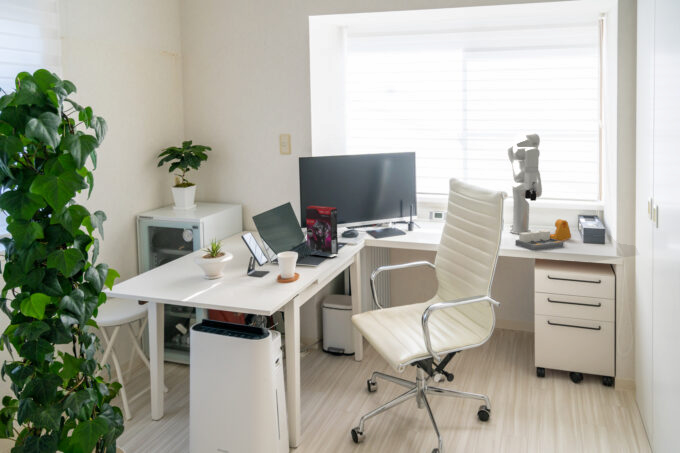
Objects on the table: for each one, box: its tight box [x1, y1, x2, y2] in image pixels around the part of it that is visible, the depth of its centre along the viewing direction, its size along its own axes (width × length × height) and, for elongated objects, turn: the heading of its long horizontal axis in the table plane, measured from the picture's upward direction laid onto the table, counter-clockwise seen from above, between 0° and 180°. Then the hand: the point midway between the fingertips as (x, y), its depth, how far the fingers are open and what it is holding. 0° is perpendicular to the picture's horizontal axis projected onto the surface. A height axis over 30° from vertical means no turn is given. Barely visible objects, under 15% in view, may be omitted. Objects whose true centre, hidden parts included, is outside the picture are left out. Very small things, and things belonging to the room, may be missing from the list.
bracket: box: [550, 218, 572, 242], centre depth 369 cm, size 11×7×12 cm, turn 110°
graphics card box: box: [305, 205, 339, 255], centre depth 340 cm, size 17×7×27 cm, turn 56°
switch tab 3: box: [537, 229, 551, 240], centre depth 359 cm, size 4×5×5 cm
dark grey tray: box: [515, 238, 565, 252], centre depth 354 cm, size 16×21×3 cm
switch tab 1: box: [518, 232, 531, 243], centre depth 354 cm, size 4×5×5 cm
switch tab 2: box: [529, 230, 541, 241], centre depth 357 cm, size 4×5×5 cm
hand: (530, 199), depth 358 cm, fingers open, 9 cm apart
